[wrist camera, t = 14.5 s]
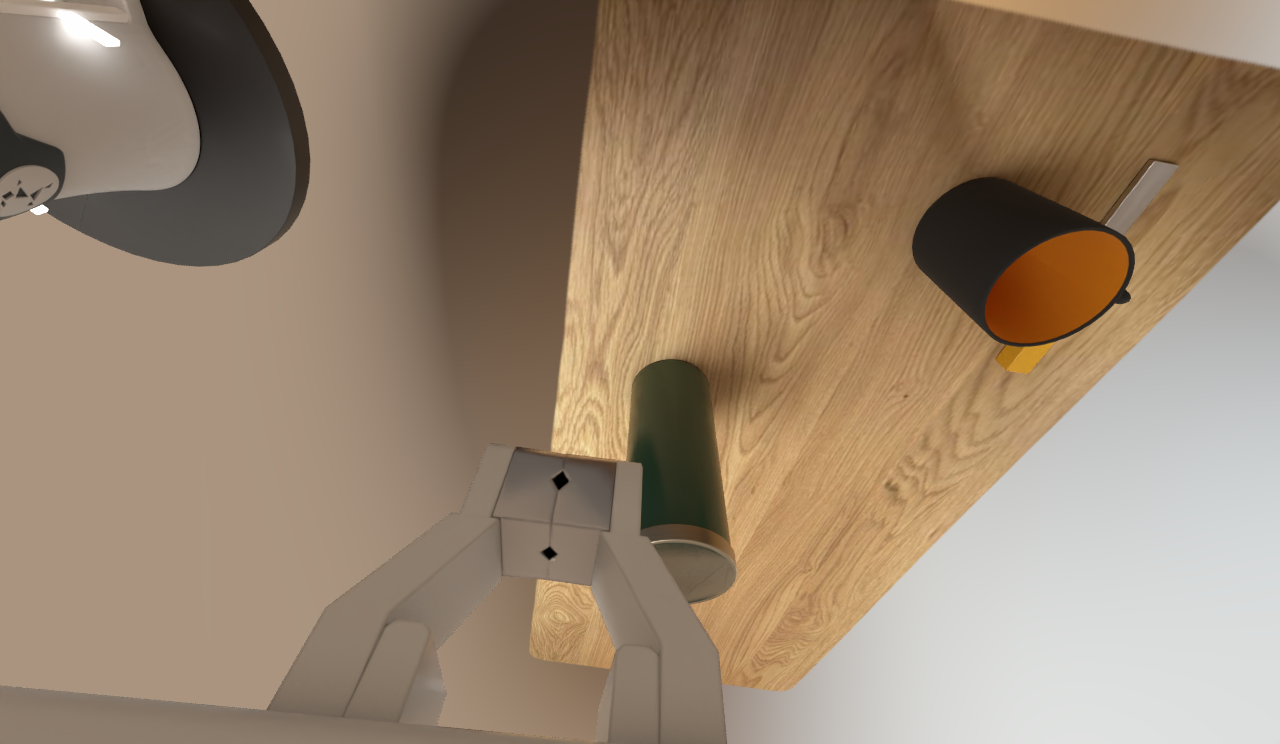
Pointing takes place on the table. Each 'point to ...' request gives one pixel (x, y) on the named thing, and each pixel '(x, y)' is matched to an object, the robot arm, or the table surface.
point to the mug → (1022, 261)
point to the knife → (1116, 219)
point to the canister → (681, 477)
